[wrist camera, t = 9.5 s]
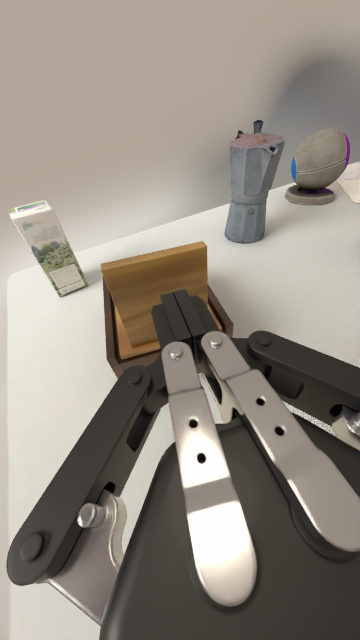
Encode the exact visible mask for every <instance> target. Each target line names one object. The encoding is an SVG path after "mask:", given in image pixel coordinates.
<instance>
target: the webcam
mask: <svg viewBox="0 0 360 640" xmlns="http://www.w3.org/2000/svg"><path fill="white" fill-rule="evenodd" d="M349 154H350V145H349V140H348V138H347V136H346V135H345V134H344V133H343V132H341V131H339V130H336V129H324V130H320V131H318V132H316V133H314V134H312V135H311V136H309V137H308V138H307V139H306V140H305V141H304V142H303V143H302V144H301V145H300V147H299V148H298V149H297V151H296V153H295V155H294V157H293V161H292V167H291V172H292V176H293V179H294V181H295V183H296V184H297V185H295V186H292V187H290V188H288V189H287V191H286V195H285V198H286V199H287V200H288V201H290V202H293V203H297V204H304V205H319V204H326V203H329V202H332V200H333V194H334V193H333V192H332V191H331V190H329V189H326V188H325V187H327V186H329V185H330V184H332V183H333V182H334V181H336V180H337V179H338V178H339V177H340V175H341V174H342V173H343V172H344V170H345V168H346V166H347V164H348V161H349Z"/></svg>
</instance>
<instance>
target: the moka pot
mask: <svg viewBox="0 0 360 640" xmlns="http://www.w3.org/2000/svg"><path fill="white" fill-rule="evenodd" d="M262 125H263V121H261V120H257V121H255V122H254V133H252V134H250V135H249V134H244V133H243V132H242V131H238V135H237V138H236V139H235V140H233V141H231V142H230V160H231V189H232V200H231V204H230V209H229V214H228V219H227V224H226V229H225V236H226V237H227V238H228V239H230V240H231V241H234V242H238V243H252V242H255V241H258V240H260V239H261V238H263V236H264V232H265V215H266V199H267V196H268V191H269V190H270V189H271V186H272V183H273V180H274V176H275V173H276V170H277V166H278V163H279V160H280V157H281V153H282V150H283V147H284V140H283V138H282V137H281V136H277V135H271V134H265V133H261V128H262Z"/></svg>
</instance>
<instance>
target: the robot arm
mask: <svg viewBox="0 0 360 640" xmlns="http://www.w3.org/2000/svg"><path fill="white" fill-rule="evenodd" d="M160 300H161V304H159V305H155V306H153V308H152V311H151V315H152V318H153V322H154V326H155V330H156V334H157V337H158V341H159V345H160V348H161V351H160V354H159V356H158V358H157V359H156V360H155V361H154V362H153V363H151V364H150V365H148V366H146V367H144V366H141V365H135V366H131V367H129V368H127V369H126V370H125V371H124V372H123V373H122V374H121V376H120V377H119V379H118V380H117V382H116V383H115V385H114V386H113V388H112V390H111V391H110V393H109V394H108V396H107V397H106V399H105V400H104V402H103V403H102V405H101V406H100V408H99V409H98V411H97V412H96V414H95V415H94V417H93V418H92V420H91V422H90V423H89V425H88V426H87V428H86V429H85V431H84V432H83V434H82V435H81V437H80V438H79V440H78V441H77V443H76V444H75V446H74V447H73V449H72V451H71V452H70V454H69V455H68V457H67V458H66V460H65V461H64V463H63V464H62V466H61V467H60V469H59V470H58V472H57V473H56V475H55V476H54V478H53V479H52V481H51V483H50V484H49V486H48V487H47V489H46V490H45V492H44V493H43V495H42V496H41V498H40V499H39V501H38V502H37V504H36V505H35V507H34V508H33V510H32V511H31V513H30V515H29V516H28V518H27V519H26V521H25V522H24V524H23V525H22V527H21V528H20V530H19V531H18V533H17V534H16V536H15V538H14V540H13V542H12V544H11V546H10V549H9V552H8V556H7V573H8V576H9V578H10V580H11V581H12V582H13V583H14V584H16V585H20V586H23V585H29V584H33V583H38V584H40V583H49V584H50V585H51V586H53V587H54V588H55V589H56V590H57V591H59V592H60V593H61V594H62V595H63V596H65V597H66V598H67V599H68V600H69V601H71V602H72V603H73V604H74V605H76V606H77V607H78V608H79V609H80V610H82V611H83V612H84V613H85V614H86V615H88V616H89V617H90V618H91V619H92V620H94V621H95V622H96V623H97V624H98V625H100V626H101V629H100V637H99V640H360V368H359V367H356V366H354V365H351V364H349V363H346V362H343V361H341V360H338V359H336V358H333V357H331V356H328V355H326V354H323V353H321V352H318V351H316V350H313V349H311V348H308V347H306V346H303V345H300V344H298V343H295V342H293V341H290V340H288V339H285V338H283V337H280V336H278V335H275V334H273V333H270V332H267V331H256V332H254V333H252V334H251V335H250V336H249V338H247V339H237V338H231V337H228V336H227V335H226V334H225V333H223V332H221V331H220V329H219V327H218V326H217V324H216V322H215V320H214V319H213V317H212V315H211V313H210V312H209V310H208V308H207V307H206V304H205V303H204V301H203V299H201V298H200V297H198V296H197V295H194V296H189V294H188V292H187V290H186V289H181V290H177V291H173V293H172V292H169V293H165V294H161V295H160ZM197 364H200V365H201V367H202V372H203V377H204V379H205V381H206V383H207V385H208V387H209V389H210V391H211V393H212V395H213V397H214V399H215V401H216V403H217V405H218V407H219V410H220V413H221V417H222V420H223V423H224V424H215V423H214V420H213V416H212V413H211V410H210V406H209V403H208V400H207V396H206V393H205V390H204V388H203V387H202V385H201V382H200V379H199V376H198V372H197V369H196V365H197ZM283 401H284V402H286V403H288V404H290V405H292V406H294V407H296V408H297V409H299V410H301V411H303V412H305V413H307V414H309V415H311V416H313V417H315V418H316V419H318V420H320V421H322V422H324V423H326V424H328V425H330V426H332V428H333V431H334V433H335V436H336V437H335V436H334V435H332V434H330V433H328V432H327V431H325V430H323V429H321V428H320V427H318V426H316V425H314V424H313V423H311V422H309V421H307V420H306V419H304V418H302V417H300V416H299V415H296V414H294V413H292V412H290V411H289V410H288V408H287V407H286V406H285V404H284V403H283ZM168 402H169V407H170V413H171V419H172V425H173V431H174V437H175V442H174V443H173V444H172V445H171V446H170V447H169V448H168V449H167V450H166V451H165V453H164V454H163V456H162V458H161V460H160V462H159V464H158V466H157V469H156V471H155V474H154V477H153V479H152V482H151V485H150V487H149V490H148V493H147V496H146V498H145V501H144V504H143V506H142V509H141V512H140V514H139V517H138V520H137V522H136V525H135V528H134V530H133V533H132V536H131V539H130V541H129V544H128V547H127V549H126V552H125V555H123V551H122V534H123V530H124V527H125V524H126V518H127V512H126V506H125V504H124V502H123V500H122V499H121V498H120V495H121V493H122V491H123V488H124V486H125V484H126V482H127V480H128V478H129V476H130V473H131V471H132V469H133V467H134V465H135V463H136V461H137V459H138V456H139V454H140V452H141V450H142V448H143V446H144V444H145V441H146V439H147V437H148V435H149V433H150V431H151V429H152V427H153V424H154V422H155V420H156V418H157V416H158V414H159V412H160V409H161V407H163V406H164V405H166V404H167V403H168Z"/></svg>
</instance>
